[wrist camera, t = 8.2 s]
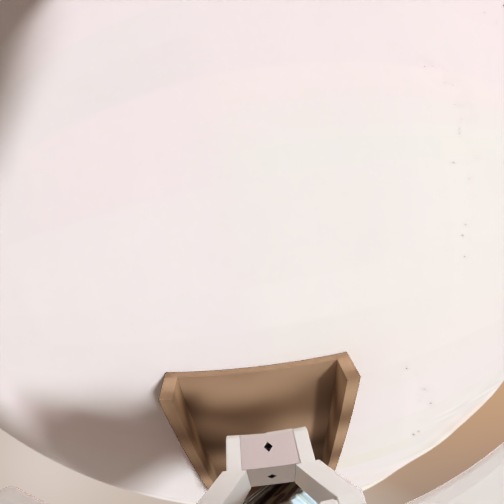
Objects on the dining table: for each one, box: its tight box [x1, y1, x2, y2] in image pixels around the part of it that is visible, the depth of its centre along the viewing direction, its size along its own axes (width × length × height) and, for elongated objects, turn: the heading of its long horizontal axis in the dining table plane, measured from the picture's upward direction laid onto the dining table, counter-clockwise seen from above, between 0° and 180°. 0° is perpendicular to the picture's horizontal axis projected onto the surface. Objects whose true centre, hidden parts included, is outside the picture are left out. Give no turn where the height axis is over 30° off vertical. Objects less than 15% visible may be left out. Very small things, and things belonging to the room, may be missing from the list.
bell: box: [242, 482, 318, 504], centre depth 19 cm, size 10×7×12 cm
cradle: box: [159, 352, 361, 501], centre depth 21 cm, size 22×14×3 cm, turn 5°
